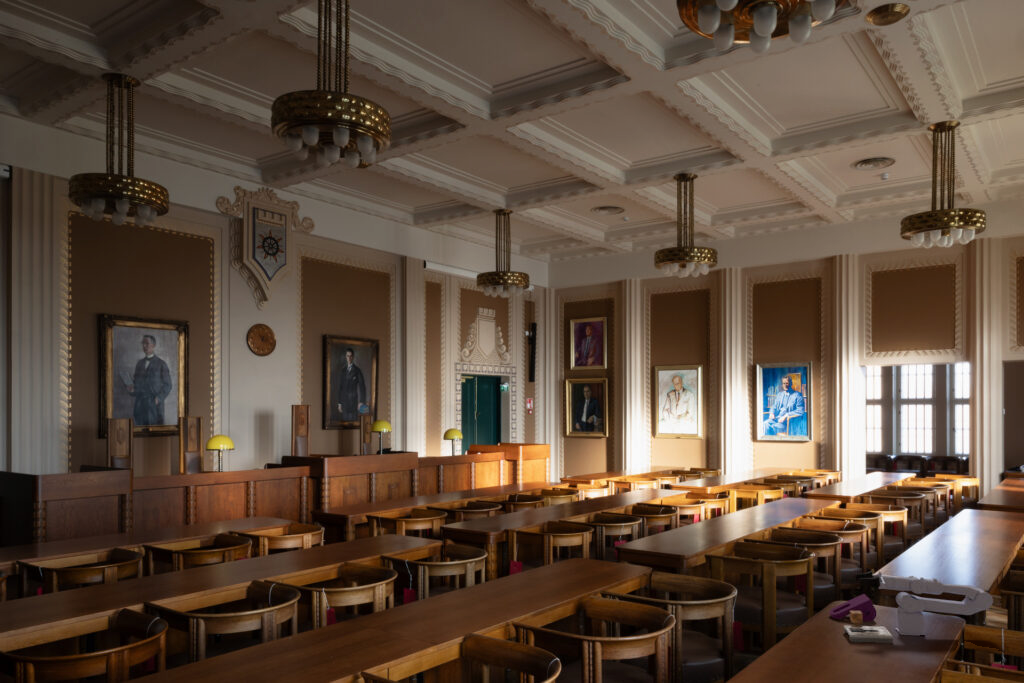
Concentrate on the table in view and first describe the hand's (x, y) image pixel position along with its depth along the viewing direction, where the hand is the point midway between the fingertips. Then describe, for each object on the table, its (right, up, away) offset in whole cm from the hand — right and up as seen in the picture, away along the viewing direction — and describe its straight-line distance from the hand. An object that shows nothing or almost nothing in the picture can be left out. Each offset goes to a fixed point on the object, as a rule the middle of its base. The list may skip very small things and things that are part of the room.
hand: (857, 578), depth 331 cm
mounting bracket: (+5, -23, +17) cm, 29 cm away
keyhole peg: (0, -22, 0) cm, 22 cm away
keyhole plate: (0, -21, -10) cm, 23 cm away
